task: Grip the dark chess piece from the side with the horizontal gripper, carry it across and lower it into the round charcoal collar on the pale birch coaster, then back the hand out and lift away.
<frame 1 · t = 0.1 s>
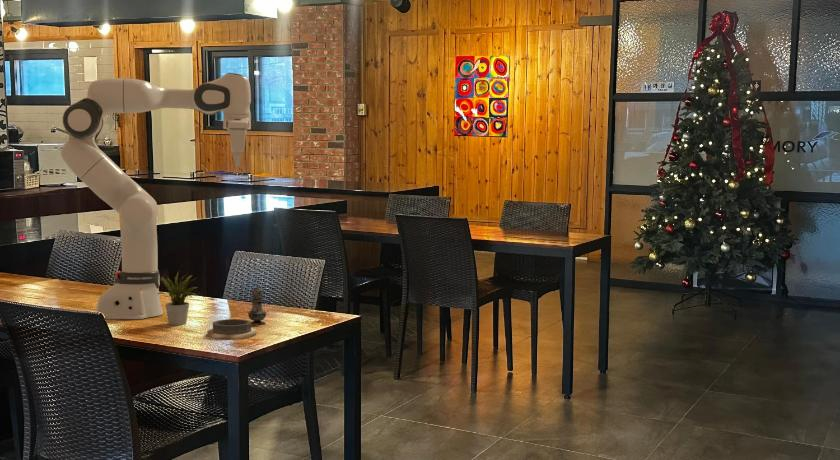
hand: (237, 166, 304), 48 cm above the table, tool pointing down, fingers open, 8 cm apart
dark chess piece: (257, 324, 287), on the table
collar holder: (232, 334, 270), on the table
house plant: (173, 325, 285), on the table
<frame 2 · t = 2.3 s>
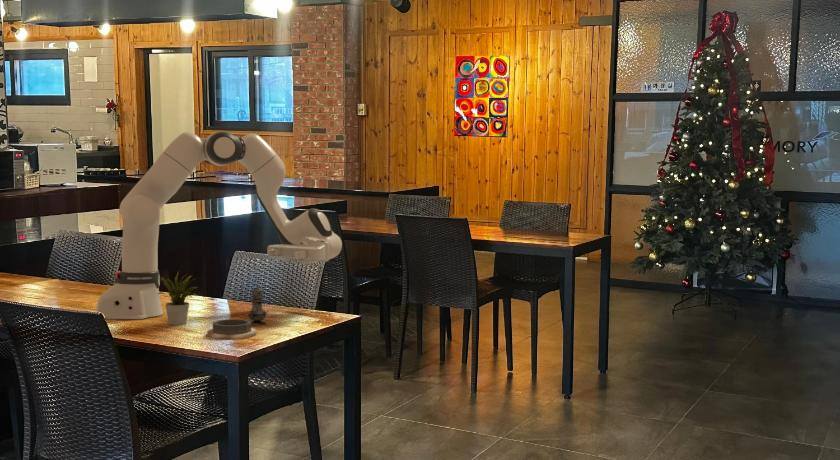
hand: (281, 254, 296), 20 cm above the table, tool horizontal, fingers open, 8 cm apart
nothing on the table moved.
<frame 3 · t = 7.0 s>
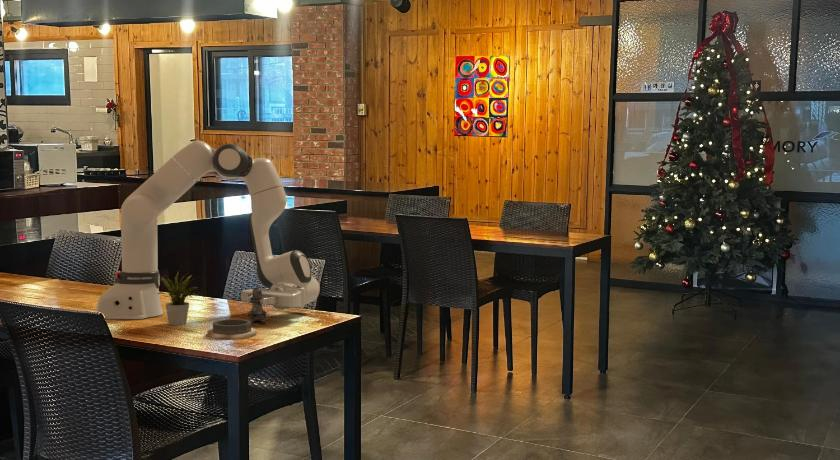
hand: (255, 300, 286), 7 cm above the table, tool horizontal, fingers closed on dark chess piece, 4 cm apart
dark chess piece: (257, 324, 287), on the table, touching gripper
everything else where it was.
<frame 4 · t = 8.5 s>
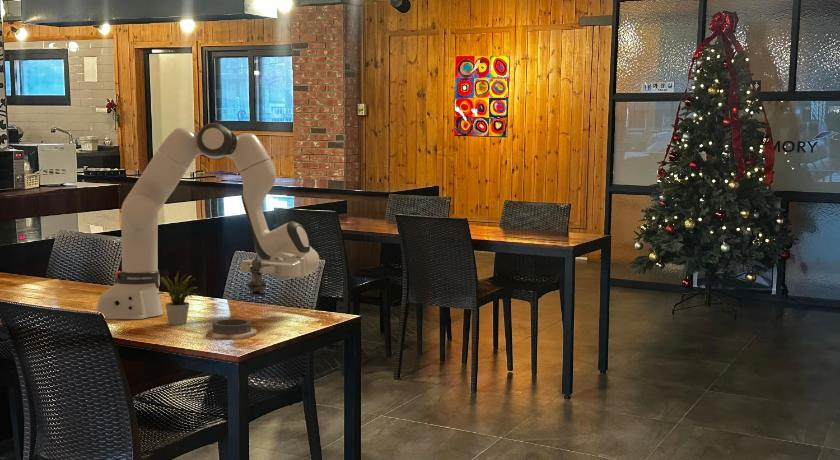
hand: (254, 270, 285), 17 cm above the table, tool horizontal, fingers closed on dark chess piece, 4 cm apart
dark chess piece: (256, 295, 286), point 9 cm above the table, touching gripper
everything else where it was.
when the fingers open (15 cm above the table, at t = 10.3 s): dark chess piece drops 5 cm, resting on collar holder.
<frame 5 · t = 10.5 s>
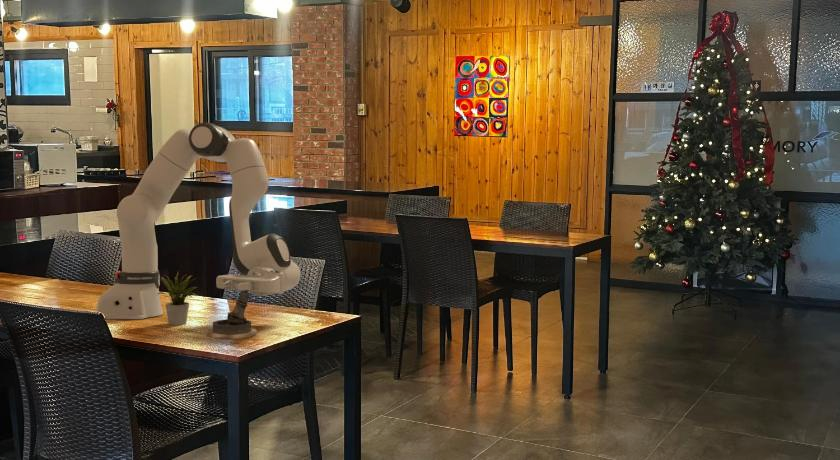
hand: (230, 286, 268), 14 cm above the table, tool horizontal, fingers open, 3 cm apart
dark chess piece: (232, 328, 270), point 2 cm above the table, touching collar holder, gripper
everything else where it was.
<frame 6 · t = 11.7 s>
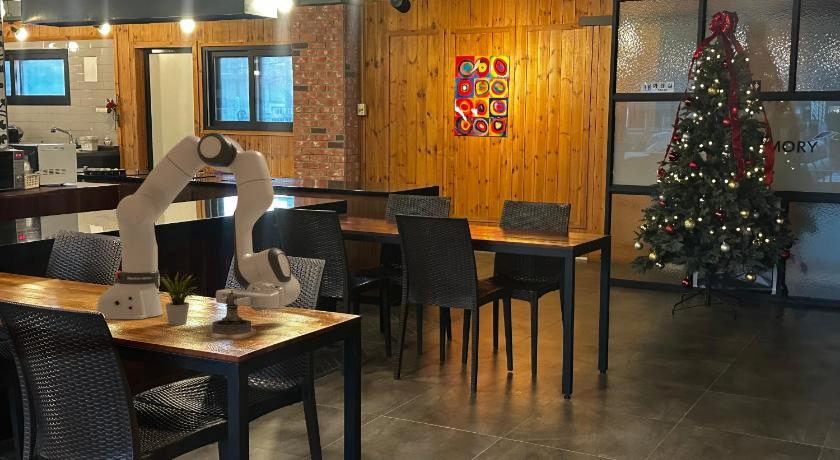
hand: (229, 301, 268), 10 cm above the table, tool horizontal, fingers closed on dark chess piece, 3 cm apart
dark chess piece: (232, 331, 270), point 1 cm above the table, touching collar holder, gripper
everything else where it was.
when the fingers open (10 cm above the table, at t = 11.7 s): dark chess piece stays where it is, resting on collar holder.
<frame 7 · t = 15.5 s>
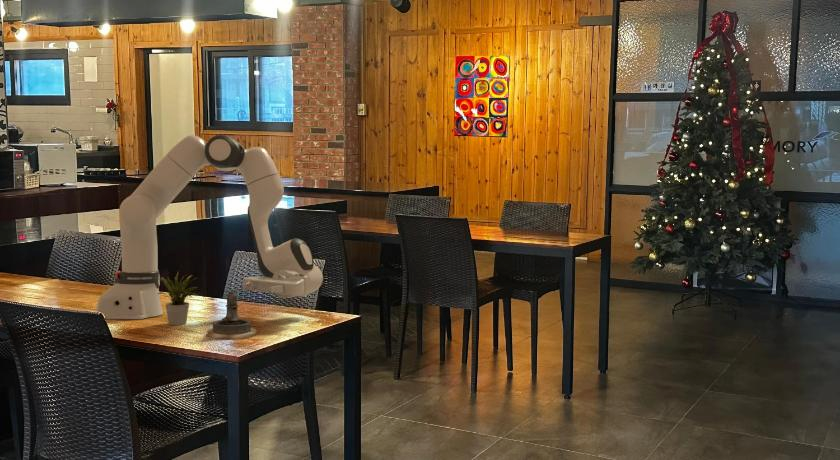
hand: (257, 288, 279), 12 cm above the table, tool horizontal, fingers open, 8 cm apart
dark chess piece: (232, 331, 270), point 1 cm above the table, touching collar holder
everything else where it was.
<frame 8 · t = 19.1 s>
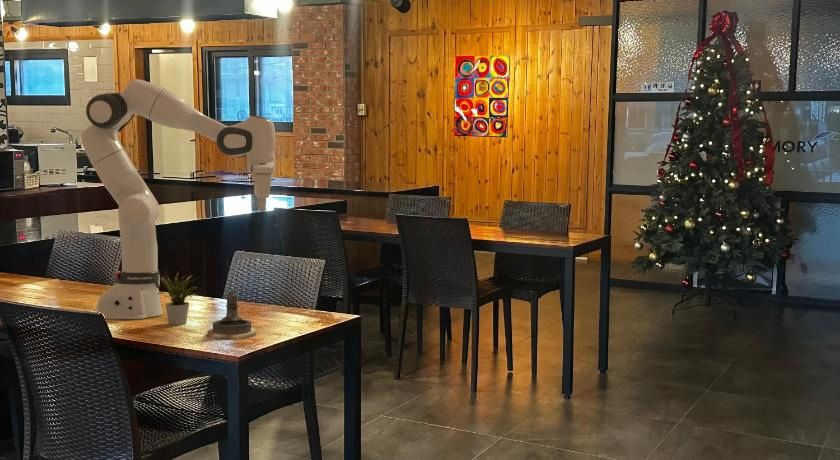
hand: (261, 211, 297), 34 cm above the table, tool pointing down, fingers open, 8 cm apart
nothing on the table moved.
at the end: dark chess piece 0.0 cm off-centre on the collar holder, point 0.8 cm above the collar holder's base; dark chess piece tilted 0°; the gripper is holding nothing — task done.
